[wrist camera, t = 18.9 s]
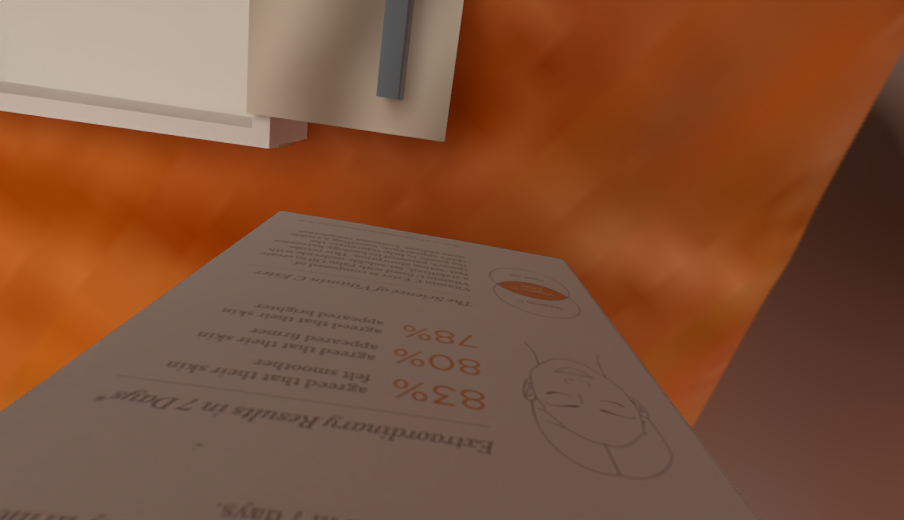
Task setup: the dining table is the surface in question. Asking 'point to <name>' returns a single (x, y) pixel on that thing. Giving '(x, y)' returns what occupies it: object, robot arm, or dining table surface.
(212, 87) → the carton
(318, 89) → the lid panel
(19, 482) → the small box
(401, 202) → the dining table surface
